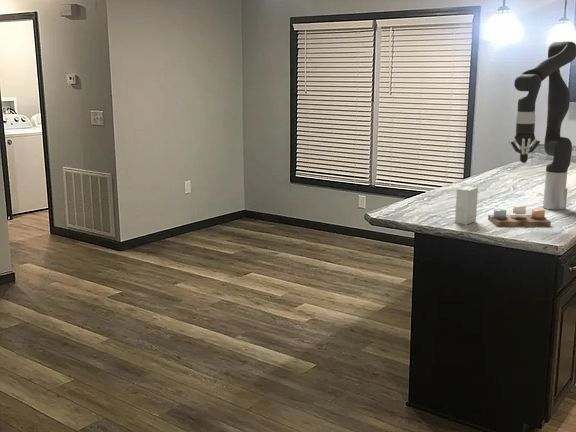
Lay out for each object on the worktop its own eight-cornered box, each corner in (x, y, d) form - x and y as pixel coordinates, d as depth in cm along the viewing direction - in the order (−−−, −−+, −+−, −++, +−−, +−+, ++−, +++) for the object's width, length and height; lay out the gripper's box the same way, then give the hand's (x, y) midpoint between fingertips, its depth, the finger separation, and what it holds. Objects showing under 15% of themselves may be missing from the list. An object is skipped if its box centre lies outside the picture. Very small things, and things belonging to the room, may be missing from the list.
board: (539, 219, 283) (540, 214, 282) (550, 226, 270) (551, 220, 270) (487, 219, 283) (487, 214, 283) (496, 226, 271) (496, 220, 270)
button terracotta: (541, 216, 278) (542, 209, 278) (546, 218, 274) (546, 211, 273) (530, 216, 279) (530, 209, 278) (534, 218, 274) (534, 211, 273)
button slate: (504, 215, 279) (504, 209, 278) (507, 218, 274) (508, 211, 273) (492, 215, 279) (492, 209, 278) (495, 218, 274) (495, 211, 274)
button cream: (523, 211, 278) (523, 204, 278) (527, 214, 273) (527, 207, 273) (511, 211, 278) (511, 204, 278) (515, 214, 274) (515, 207, 273)
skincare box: (463, 219, 283) (465, 185, 280) (476, 221, 279) (478, 187, 276) (454, 222, 277) (455, 188, 274) (467, 225, 273) (469, 189, 270)
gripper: (537, 121, 283) (535, 161, 286) (507, 121, 283) (505, 161, 286) (544, 122, 275) (542, 163, 279) (513, 123, 275) (511, 164, 279)
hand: (523, 162), depth 283 cm, fingers closed
